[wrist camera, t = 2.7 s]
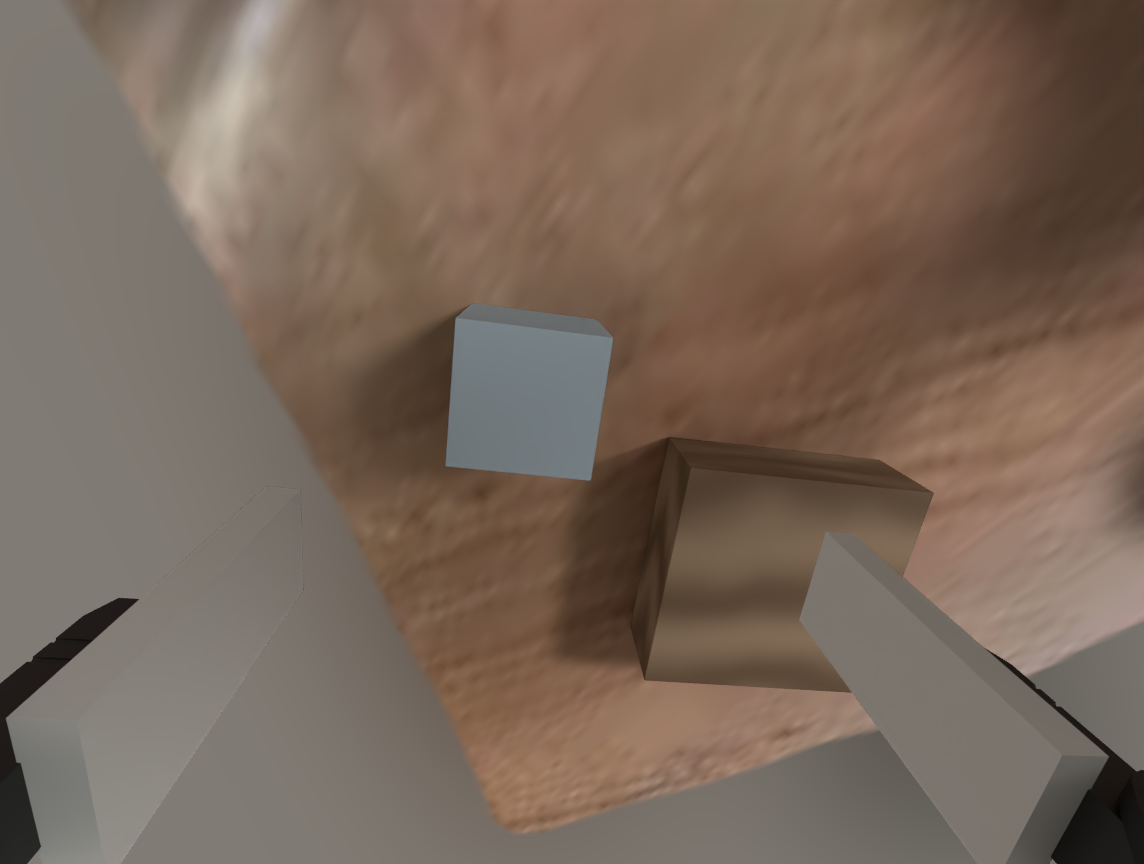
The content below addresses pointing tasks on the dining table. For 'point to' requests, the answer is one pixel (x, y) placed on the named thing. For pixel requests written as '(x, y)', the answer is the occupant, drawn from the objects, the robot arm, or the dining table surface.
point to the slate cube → (526, 392)
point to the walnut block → (756, 558)
